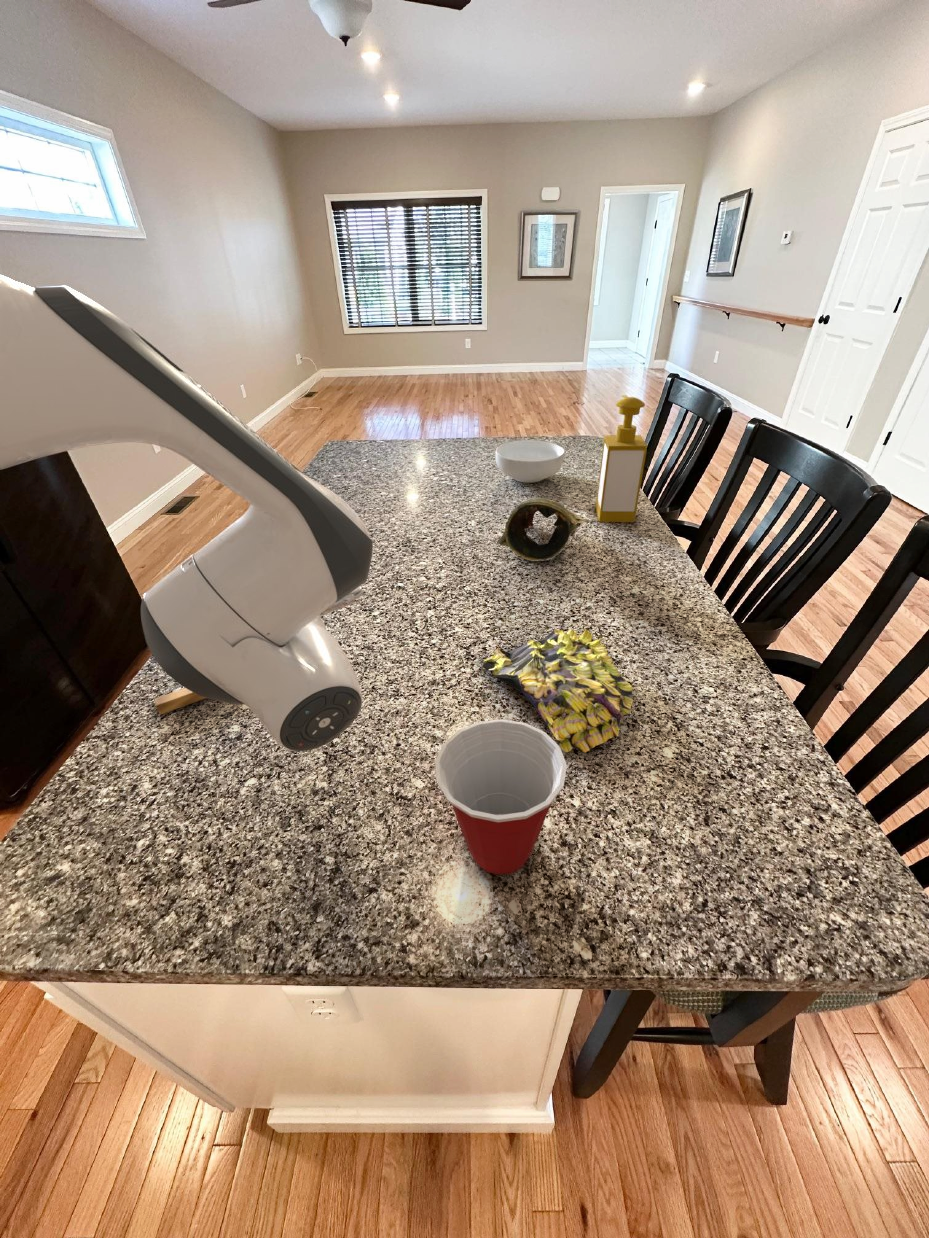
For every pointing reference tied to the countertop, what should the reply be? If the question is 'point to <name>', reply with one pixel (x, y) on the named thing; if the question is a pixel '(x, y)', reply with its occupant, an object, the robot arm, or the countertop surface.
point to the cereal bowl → (529, 460)
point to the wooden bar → (176, 700)
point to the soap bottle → (621, 467)
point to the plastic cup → (500, 788)
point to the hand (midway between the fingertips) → (244, 572)
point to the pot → (524, 519)
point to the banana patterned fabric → (568, 686)
